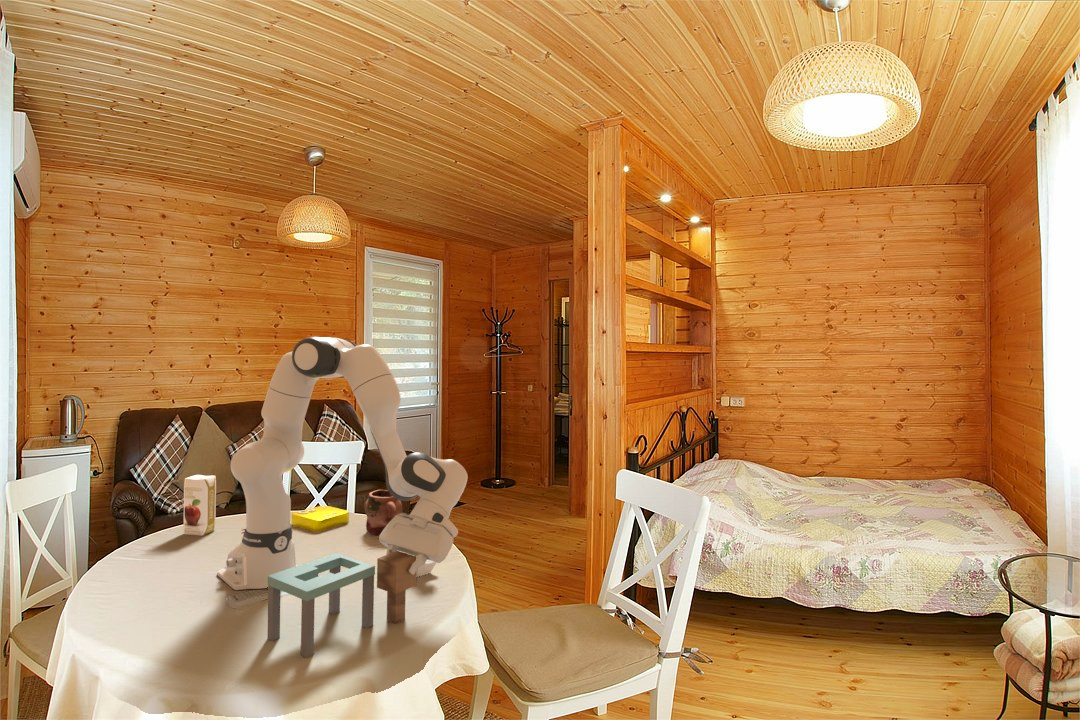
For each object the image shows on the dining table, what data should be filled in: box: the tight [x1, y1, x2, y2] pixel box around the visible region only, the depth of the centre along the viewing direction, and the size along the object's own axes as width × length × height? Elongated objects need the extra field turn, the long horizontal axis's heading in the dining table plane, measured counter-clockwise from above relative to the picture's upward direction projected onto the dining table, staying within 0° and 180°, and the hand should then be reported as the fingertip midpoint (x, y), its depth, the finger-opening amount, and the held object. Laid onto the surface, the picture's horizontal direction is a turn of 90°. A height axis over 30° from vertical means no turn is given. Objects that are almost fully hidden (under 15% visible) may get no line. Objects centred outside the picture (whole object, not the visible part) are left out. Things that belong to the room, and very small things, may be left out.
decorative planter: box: [363, 489, 403, 537], centre depth 204 cm, size 20×12×14 cm, turn 42°
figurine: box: [416, 557, 438, 578], centre depth 169 cm, size 7×9×15 cm
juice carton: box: [183, 474, 217, 537], centre depth 199 cm, size 8×9×19 cm
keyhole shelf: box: [266, 552, 376, 659], centre depth 134 cm, size 18×14×14 cm
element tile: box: [290, 504, 350, 533], centre depth 213 cm, size 15×15×5 cm
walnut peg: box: [376, 550, 417, 625], centre depth 140 cm, size 6×6×15 cm
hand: (397, 569), depth 141 cm, fingers closed on walnut peg, 6 cm apart
